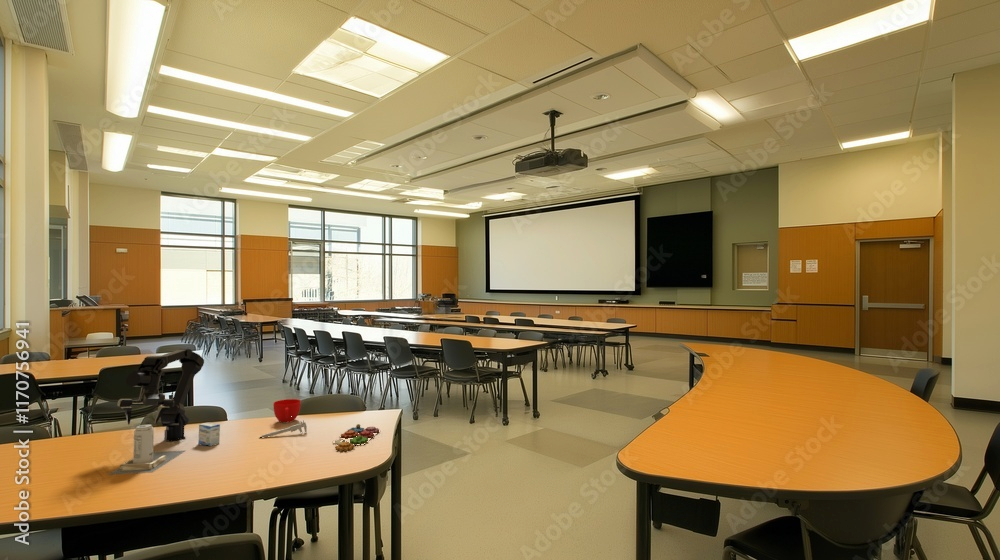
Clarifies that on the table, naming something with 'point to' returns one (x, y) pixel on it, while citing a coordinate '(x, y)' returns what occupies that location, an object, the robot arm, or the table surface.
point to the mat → (156, 455)
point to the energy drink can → (143, 444)
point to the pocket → (141, 464)
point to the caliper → (288, 429)
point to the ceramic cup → (287, 409)
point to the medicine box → (209, 434)
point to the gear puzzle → (352, 433)
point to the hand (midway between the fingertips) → (142, 424)
